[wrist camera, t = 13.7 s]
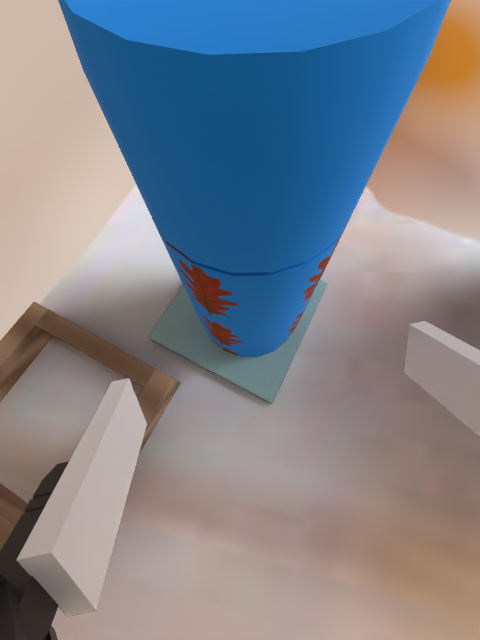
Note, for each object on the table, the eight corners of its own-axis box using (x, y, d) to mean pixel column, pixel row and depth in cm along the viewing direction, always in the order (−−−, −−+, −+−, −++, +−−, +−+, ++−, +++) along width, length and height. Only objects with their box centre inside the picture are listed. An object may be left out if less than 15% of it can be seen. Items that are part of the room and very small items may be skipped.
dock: (52, 312, 32) (34, 301, 29) (180, 382, 29) (173, 378, 26) (-71, 462, 27) (-108, 467, 24) (69, 572, 23) (45, 592, 20)
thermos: (268, 378, 28) (376, 129, 4) (183, 329, 30) (-51, -11, 7) (313, 295, 31) (514, -104, 8) (233, 256, 33) (197, -145, 10)
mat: (216, 241, 35) (215, 236, 34) (325, 287, 32) (327, 283, 31) (151, 340, 31) (148, 337, 30) (271, 403, 28) (272, 403, 27)
